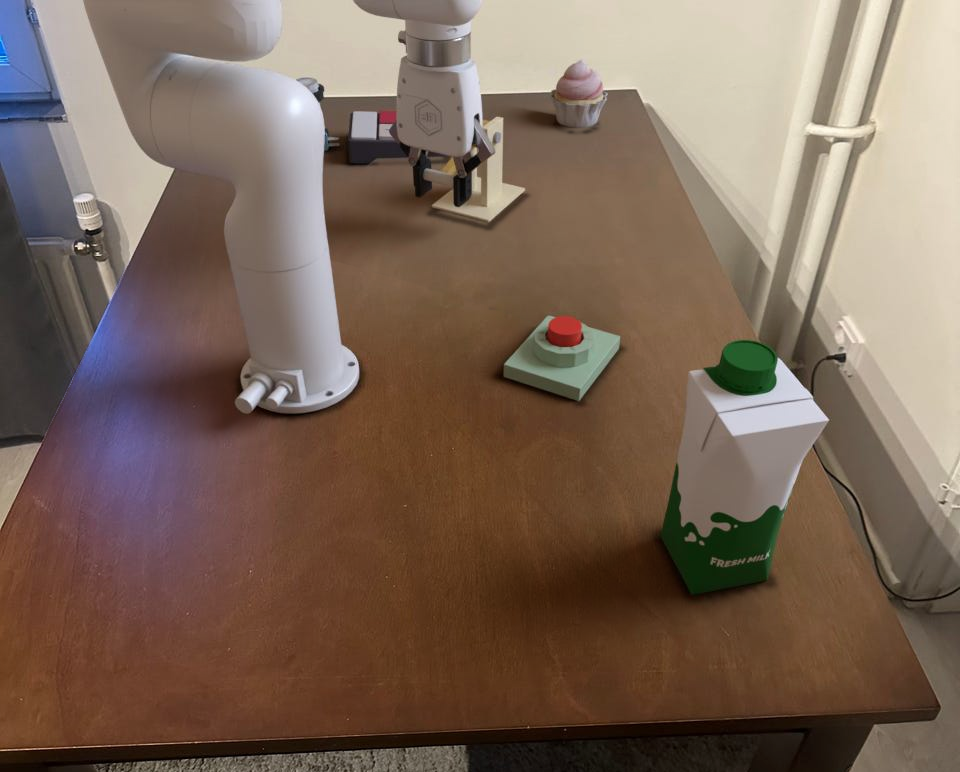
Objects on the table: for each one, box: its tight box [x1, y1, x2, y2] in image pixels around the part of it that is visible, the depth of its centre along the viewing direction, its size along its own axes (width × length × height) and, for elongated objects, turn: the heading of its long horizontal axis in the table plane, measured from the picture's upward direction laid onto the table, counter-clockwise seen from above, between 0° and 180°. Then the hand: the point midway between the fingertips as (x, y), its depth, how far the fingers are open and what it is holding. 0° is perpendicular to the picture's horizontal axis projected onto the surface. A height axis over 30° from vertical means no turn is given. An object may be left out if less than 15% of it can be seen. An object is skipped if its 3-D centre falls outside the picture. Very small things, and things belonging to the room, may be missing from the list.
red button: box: [548, 315, 582, 347], centre depth 96 cm, size 4×4×2 cm
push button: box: [295, 76, 340, 152], centre depth 136 cm, size 7×5×10 cm
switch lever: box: [423, 119, 491, 188], centre depth 117 cm, size 12×5×2 cm, turn 151°
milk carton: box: [660, 339, 830, 596], centre depth 71 cm, size 9×9×20 cm
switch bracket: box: [431, 116, 526, 223], centre depth 122 cm, size 11×9×12 cm
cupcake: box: [549, 59, 608, 129], centre depth 142 cm, size 9×9×10 cm
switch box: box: [503, 315, 621, 402], centre depth 97 cm, size 11×9×4 cm
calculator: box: [347, 110, 449, 165], centre depth 138 cm, size 11×4×15 cm
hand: (442, 196), depth 116 cm, fingers closed on switch lever, 5 cm apart
